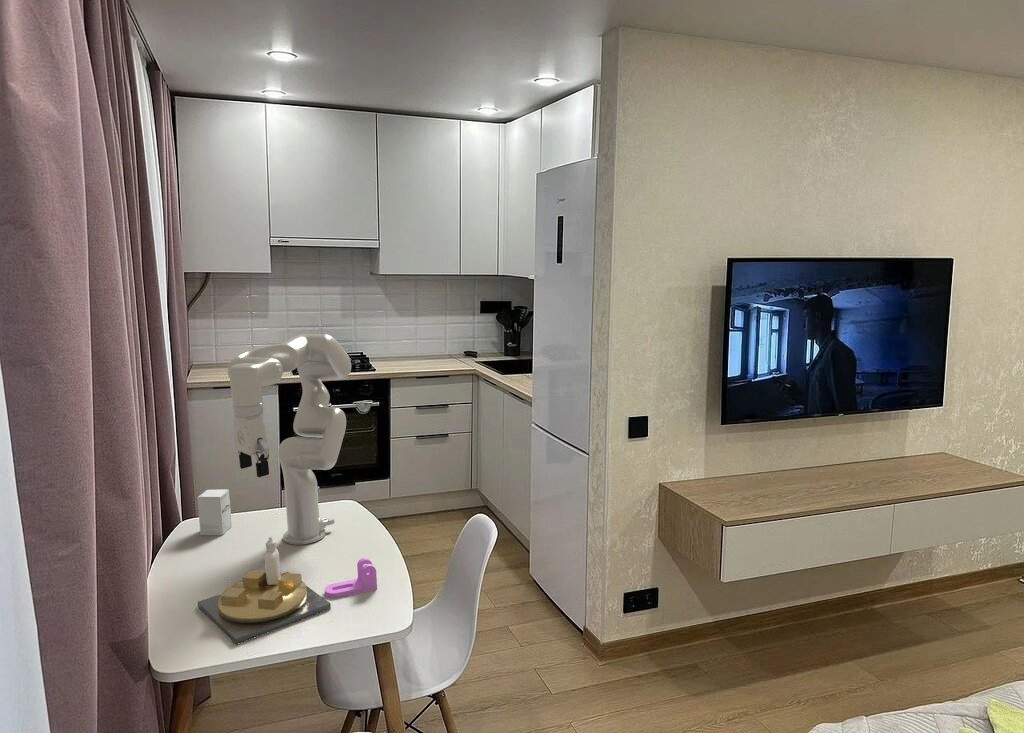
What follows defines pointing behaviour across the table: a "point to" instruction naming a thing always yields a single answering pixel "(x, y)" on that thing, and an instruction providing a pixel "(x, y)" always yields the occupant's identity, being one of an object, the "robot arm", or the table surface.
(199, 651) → the table surface
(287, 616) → the dark grey square slab
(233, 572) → the table surface
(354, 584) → the bracket
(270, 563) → the eye dropper bottle
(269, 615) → the plate with cheese cubes
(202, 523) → the supplement box
